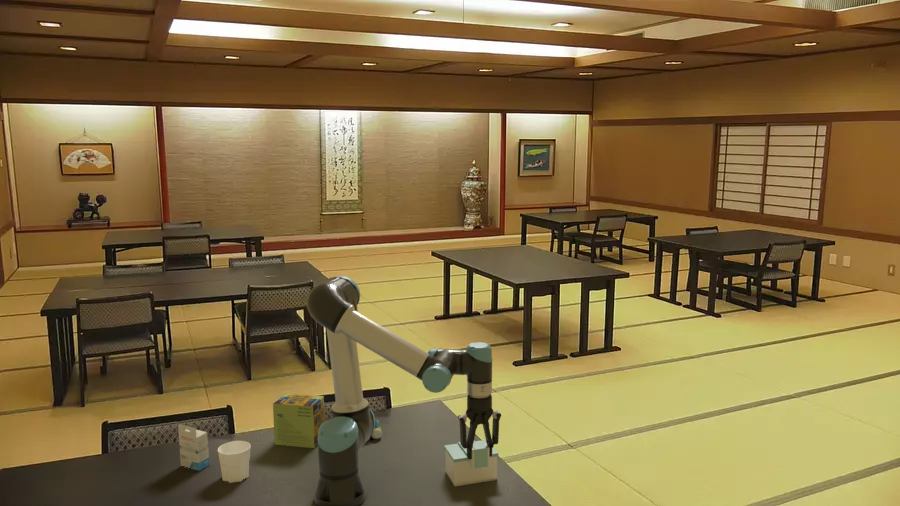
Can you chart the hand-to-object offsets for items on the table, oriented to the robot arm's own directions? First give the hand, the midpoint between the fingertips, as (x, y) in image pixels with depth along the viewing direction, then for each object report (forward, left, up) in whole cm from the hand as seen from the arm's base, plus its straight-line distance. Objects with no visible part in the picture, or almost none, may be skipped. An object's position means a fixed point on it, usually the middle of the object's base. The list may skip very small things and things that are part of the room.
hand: (479, 467), depth 210 cm
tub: (0, +8, -7) cm, 11 cm away
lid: (0, +6, 0) cm, 6 cm away
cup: (-72, +30, -7) cm, 78 cm away
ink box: (-85, +42, -7) cm, 95 cm away
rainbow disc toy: (-26, +48, -7) cm, 55 cm away
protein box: (-50, +52, -7) cm, 73 cm away
